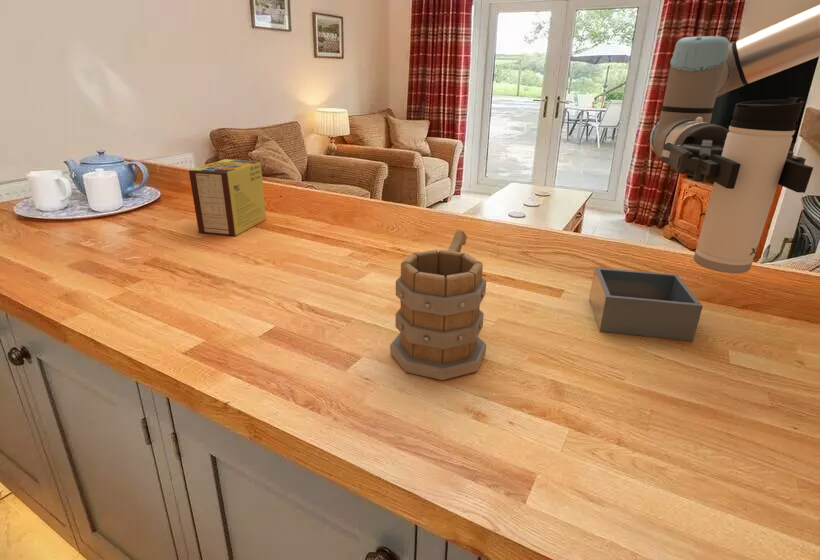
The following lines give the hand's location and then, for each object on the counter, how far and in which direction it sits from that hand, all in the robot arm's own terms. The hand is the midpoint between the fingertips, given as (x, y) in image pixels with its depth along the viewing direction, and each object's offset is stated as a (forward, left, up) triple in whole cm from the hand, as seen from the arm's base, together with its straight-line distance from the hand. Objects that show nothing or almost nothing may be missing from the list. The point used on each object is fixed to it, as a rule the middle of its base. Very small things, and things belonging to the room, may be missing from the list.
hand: (768, 178), depth 53 cm
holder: (+5, -19, -27) cm, 33 cm away
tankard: (+35, -4, -27) cm, 44 cm away
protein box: (+96, -50, -27) cm, 111 cm away
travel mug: (0, -5, -12) cm, 13 cm away
